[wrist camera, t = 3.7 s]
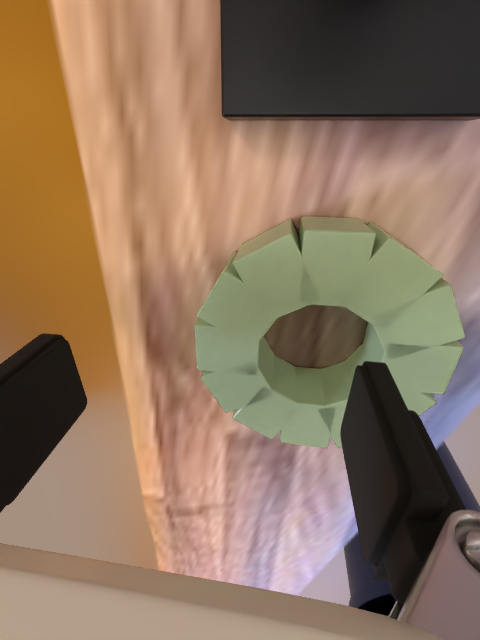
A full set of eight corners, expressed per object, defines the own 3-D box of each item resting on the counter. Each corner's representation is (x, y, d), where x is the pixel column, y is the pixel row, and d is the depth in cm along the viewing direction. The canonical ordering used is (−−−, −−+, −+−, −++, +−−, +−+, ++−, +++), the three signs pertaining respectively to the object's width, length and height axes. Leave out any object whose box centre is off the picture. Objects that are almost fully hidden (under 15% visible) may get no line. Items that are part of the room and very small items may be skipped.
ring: (467, 221, 11) (514, 238, 9) (397, 416, 16) (415, 460, 13) (205, 212, 12) (186, 224, 10) (213, 396, 17) (201, 433, 15)
